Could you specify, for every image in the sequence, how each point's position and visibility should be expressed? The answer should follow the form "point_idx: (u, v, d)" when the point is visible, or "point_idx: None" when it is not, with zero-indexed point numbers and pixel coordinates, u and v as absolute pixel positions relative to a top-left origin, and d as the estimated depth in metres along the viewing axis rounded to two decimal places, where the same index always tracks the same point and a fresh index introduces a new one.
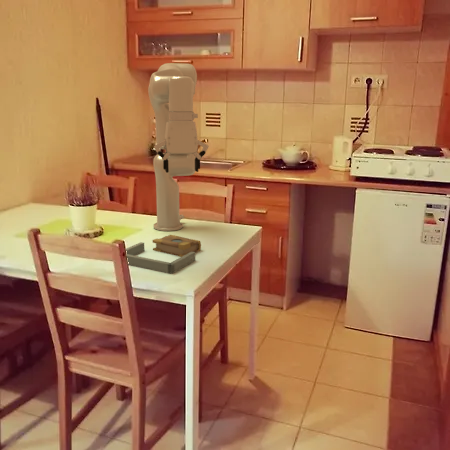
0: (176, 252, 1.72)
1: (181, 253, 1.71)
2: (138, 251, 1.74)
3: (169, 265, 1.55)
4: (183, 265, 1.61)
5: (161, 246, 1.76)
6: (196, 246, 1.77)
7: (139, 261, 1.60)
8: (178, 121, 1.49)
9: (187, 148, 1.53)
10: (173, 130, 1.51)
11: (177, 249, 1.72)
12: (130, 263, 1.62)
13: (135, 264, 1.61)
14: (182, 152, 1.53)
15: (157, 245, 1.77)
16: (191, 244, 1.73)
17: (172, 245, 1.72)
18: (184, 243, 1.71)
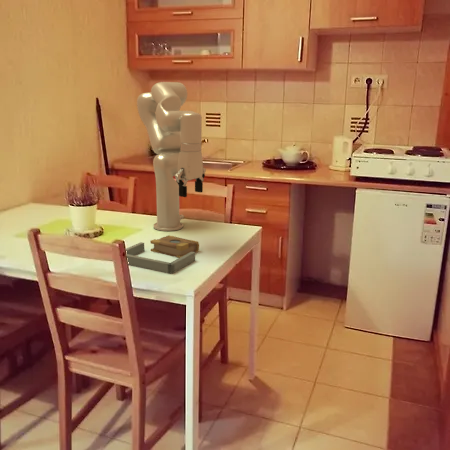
0: (174, 253, 1.72)
1: (179, 254, 1.70)
2: (138, 251, 1.74)
3: (169, 265, 1.55)
4: (183, 265, 1.61)
5: (159, 246, 1.75)
6: (194, 247, 1.76)
7: (139, 261, 1.60)
8: (196, 152, 1.72)
9: (198, 173, 1.78)
10: (191, 160, 1.72)
11: (175, 250, 1.71)
12: (130, 263, 1.62)
13: (135, 264, 1.61)
14: (195, 177, 1.77)
15: (155, 246, 1.76)
16: (189, 245, 1.72)
17: (170, 246, 1.71)
18: (182, 244, 1.70)
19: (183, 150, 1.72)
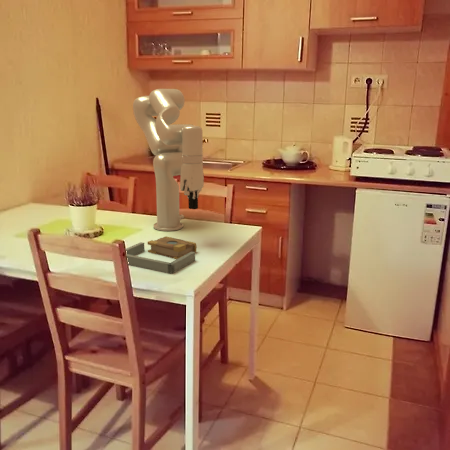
0: (171, 254, 1.70)
1: (176, 255, 1.69)
2: (138, 251, 1.74)
3: (169, 265, 1.55)
4: (183, 265, 1.61)
5: (156, 248, 1.74)
6: (191, 248, 1.75)
7: (139, 261, 1.60)
8: (198, 163, 1.77)
9: (200, 185, 1.82)
10: (194, 171, 1.76)
11: (172, 251, 1.70)
12: (130, 263, 1.62)
13: (135, 264, 1.61)
14: (197, 189, 1.81)
15: (152, 247, 1.75)
16: (186, 246, 1.71)
17: (167, 247, 1.70)
18: (179, 245, 1.69)
19: (185, 162, 1.76)
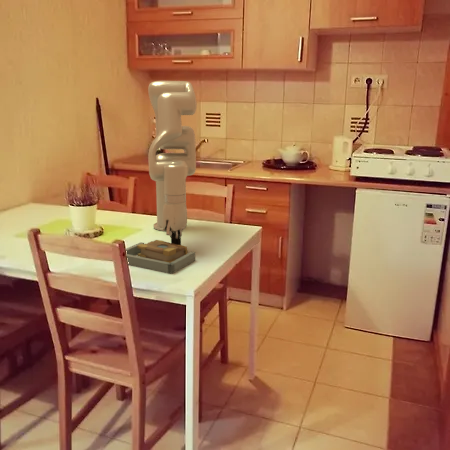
0: (161, 258, 1.66)
1: (166, 259, 1.65)
2: (138, 251, 1.74)
3: (169, 265, 1.55)
4: (183, 265, 1.61)
5: (146, 251, 1.69)
6: (182, 252, 1.71)
7: (139, 261, 1.60)
8: (181, 203, 1.70)
9: (183, 224, 1.75)
10: (176, 211, 1.70)
11: (162, 255, 1.65)
12: (130, 263, 1.62)
13: (135, 264, 1.61)
14: (180, 228, 1.74)
15: (142, 251, 1.70)
16: (177, 250, 1.67)
17: (157, 251, 1.66)
18: (169, 249, 1.64)
19: (168, 202, 1.69)
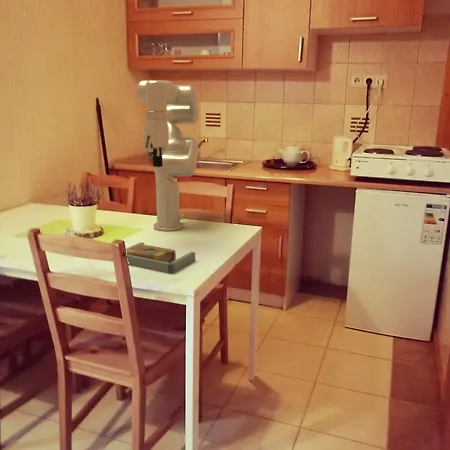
0: None
1: None
2: None
3: (169, 265, 1.55)
4: (183, 265, 1.61)
5: None
6: (171, 256, 1.67)
7: (139, 261, 1.60)
8: (162, 119, 1.74)
9: (164, 142, 1.79)
10: (157, 127, 1.74)
11: None
12: (130, 263, 1.62)
13: (135, 264, 1.61)
14: (161, 146, 1.78)
15: None
16: (166, 254, 1.62)
17: (146, 256, 1.61)
18: (159, 253, 1.60)
19: (149, 118, 1.73)
